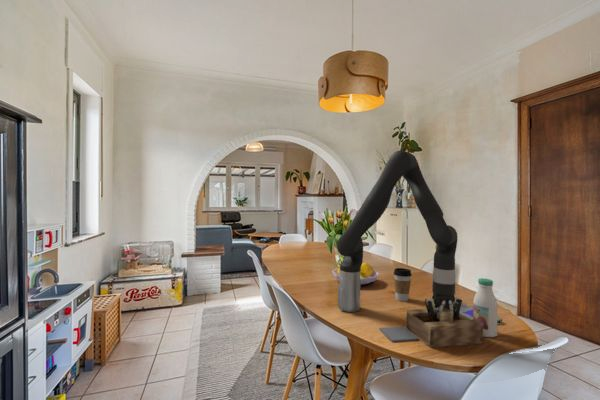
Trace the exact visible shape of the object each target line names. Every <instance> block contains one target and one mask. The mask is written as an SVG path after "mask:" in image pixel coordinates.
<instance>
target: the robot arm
mask: <svg viewBox="0 0 600 400" xmlns="http://www.w3.org/2000/svg"><path fill="white" fill-rule="evenodd" d="M402 177H403V179H404V180H405V181H406V182H407V185H408V186H409V188H410V190H411V193H412V197H413V200H414V202H415V205H416V207H417V209H418V211H419V214H420V215H421V216H422V218H423V220H424V222H425V225H426V228H427V230H428V234H429V236H430V238H431V239H432V241H433V242H434V243H435V244H436V250H435V253H434V254H433V270H432V296H431V298H430V299H429V298H425V299H424V303H425V307H426V308H425V309H427V312H428V314H429V315H431V316H432V317H433V322H439V317H440V312H442V310H443V309H448V310H450V311H453V317H454V316H455V315H457V316H458V315H459V311H460V307H461V304H462V302H463V300H462V299H461V298H460V297H456V296H455V295H456V280H457V279H456V278H457V277H456V252H457V246H458V233H457V230H456V229H455V228H454V227H453V226H452V225H448V224H447V222H446V220H445V219H444V212H443V210H442V208H441V206H440V204H439V203H438V201H437V200H436V198H435V196H434V195H433V193H432V191H431V190H430V188H429V185H428V183H427V182H426V179H425V177H424V175H423V173H422V171H421V168H420V166H419V163H418V160H417V158H416V156H415V155H414V154H412V153H410V152H408V151H405V150H397V151H394V152H393V153H392V154H391V155H390V156H389V158H388V160H387V162H386V164H385V165H384V168H383V170H382V171H381V174H380V175H379V177H378V179H377V180H376V183H375V184H374V185H373V186H372V188H371V190H370V192H369V193H368V195H367V196H366V197H365V200H363V203H362V204H361V206H360V208H359V209H358V211H357V212H356V214H355V215H354V217H353V219H352V220H351V223H350V224H349V225H348V227H347V228H346V229H345V231H344V232H343V233H342V234H341V235H340V236H339V238H338V241H337V243H336V250H337V252H338V254H339V255H341V256H343V259H342V261H341V262H340V263H339V267H340V280H339V285H338V286H337V308H338V309H339V310H340V311H342V312H348V313H355V312H358V311H360V310H361V285H360V275H361V265H362V263H364V261H363V260H364V242H363V239H362V237H363V236H364V235H365V233H366V232H367V231H368V230H369V229H370V228H372V227H373V225H375V224H376V223H377V222H378V221H379V219H381V217H382V216H383V214H384V213H385V211H386V210H387V208H388V206H389V204H390V201H391V197H392V194H393V191H394V189H395V187H396V185H397V184H398V182H399V181H400V179H401V178H402ZM433 302H434V307H433ZM453 302H454V303H453ZM452 304H453V306H452ZM437 307H438V308H439V309H438V308H437ZM455 310H456V311H455ZM436 311H437V313H436Z"/></svg>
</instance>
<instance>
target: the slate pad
mask: <svg viewBox="0 0 600 400" xmlns="http://www.w3.org/2000/svg"><path fill="white" fill-rule="evenodd" d="M378 329H379V331H380V332H381V333H382V334H383V335H384V336H385V337H386V338H387V339H388V340H389V342H391V343H396V342H399V343H400V342H409V341H410V342H411V341H412V342H413V341H419V338H418V337H417V336H416V335H414V334H413V333H412V332H411V331H410V330H408V329H407V327H405V326H401V325H399V326H387V327H379V328H378Z"/></svg>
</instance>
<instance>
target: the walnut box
mask: <svg viewBox="0 0 600 400" xmlns="http://www.w3.org/2000/svg"><path fill="white" fill-rule="evenodd" d="M455 311H456V310H455ZM406 329H408V330H409V331H410V332H411V333H412V334H414V335H415V336H416V337H417V338H418V340H421V342H423V343H424V344H425V345H427V347H429V348H430V349H431V348H442V347H443V348H444V347H454V346H466V345H478V344H483V343H484V341H483V340H484V336H483V323H482V322H480V321H478V320H476V319H469V318H467V317H466V316H464V315H462V314H460V311H459V315H458V316H457V315H455V316H454V317H453V321H440V322H433V317H432V316H431V315H429V314H428V312H427V308H421V309H420V308H419V309H418V308H417V309H416V308H415V309H407V310H406Z"/></svg>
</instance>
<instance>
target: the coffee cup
mask: <svg viewBox="0 0 600 400" xmlns="http://www.w3.org/2000/svg"><path fill="white" fill-rule="evenodd" d="M411 272H412V270H411V269H410V268H409V269H408V268H404V267H403V268H402V267H400V268H399V267H396V268H394V271H393V275H394V293H395V300H396V301H399V302H408V301H409V297H410V290H411V282H412V281H411V277H412V273H411Z"/></svg>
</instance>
